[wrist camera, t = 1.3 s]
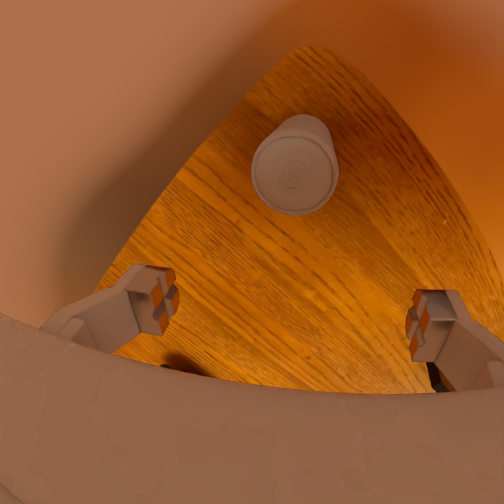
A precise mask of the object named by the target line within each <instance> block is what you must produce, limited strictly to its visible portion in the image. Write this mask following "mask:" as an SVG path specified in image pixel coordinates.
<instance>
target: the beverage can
mask: <svg viewBox="0 0 504 504" xmlns="http://www.w3.org/2000/svg"><path fill="white" fill-rule="evenodd" d="M338 173H339V168H338V163H337V158H336V154H335V150H334V146H333V143H332V139H331V135H330V132H329V130H328V128H327V126H326V125H325V124H324V123H323V122H322V121H321V120H319V119H318V118H316V117H314V116H311V115H308V114H299V115H294V116H292V117H290V118H288V119H286V120H285V121H284V122H283V123H282V124H281V125H280V126H279V127H278V128H277V129H275V130H274V131H273V132H272V133H271V134H270V135H269V136H268V137H267V138H266V139H265V140H264V141H263V142H262V143H261V144H260V145H259V147H258V149H257V150H256V152H255V154H254V157H253V161H252V165H251V180H252V183H253V187H254V190H255V191H256V193H257V195H258V196H259V198H260V199H261V200H262V201H263V202H264V203H265V204H266V205H267V206H268V207H270V208H271V209H273V210H275V211H276V212H279V213H282V214H286V215H295V216H299V215H305V214H309V213H312V212H314V211H316V210H318V209H320V208H321V207H322V206H323V205H325V204H326V203H327V201H328V200H329V199H330V197H331V196H332V195H333V192H334V190H335V188H336V185H337V182H338Z"/></svg>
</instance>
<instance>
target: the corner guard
mask: <svg viewBox="0 0 504 504" xmlns="http://www.w3.org/2000/svg"><path fill="white" fill-rule="evenodd" d="M426 363H427V368H428V372H429V377H430V381H431V386H432V388H433V389H434V390H435V391H436V392H437V393H441V392H455V391H456V389H455V388H454V387H453V386H452V384H451V383H450V382H449V381H448V379H447V378H446V377H445V376H444V374H443V373H442V372H441V371H440V369H439V368H438V367H437V366H436V365H435V362H426Z"/></svg>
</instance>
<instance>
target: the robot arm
mask: <svg viewBox="0 0 504 504" xmlns="http://www.w3.org/2000/svg"><path fill="white" fill-rule="evenodd" d="M175 280H176V276H175V271H174V270H173V269H172V268H166V267H159V266H151V265H144V264H133V265H132V266H131V267H130V268H129V269H128V270H127V271H126V272H125V273H124V274H123V276H122V277H121V278H120V279H119V280H118V281H117V282H116V283H115V284H114V285H113V287H112V288H109V287H108V288H105V289H103V290H101V291H98V292H96V293H94V294H92V295H89V296H87V297H85V298H83V299H80V300H78V301H76V302H74V303H71V304H69V305H67V306H65V307H62V308H60V309H58V310H56V311H55V312H54V313H53V314H52V315H51V316H50V317H49V318H48V319H47V320H46V322H45V323H44V324H43V325H42V326H41V327H40V328H39V329H37V328H35V327H32V326H29V325H27V324H25V323H22V322H20V321H18V320H15V319H13V318H10V317H8V316H6V315H4V314H2V313H0V504H504V343H503V342H502V341H501V340H500V339H498V338H497V337H496V336H495V335H493V334H492V333H491V332H490V331H488V330H487V329H486V328H484V327H483V326H482V325H481V324H479V323H478V322H477V321H472V319H471V317H470V315H469V313H468V311H467V309H466V307H465V305H464V303H463V301H462V299H461V297H460V295H459V293H458V291H456V290H429V289H416V291H415V292H414V295H413V298H412V300H413V304H414V306H412V307H411V308H410V309H409V310H408V313H407V317H406V323H405V331H406V336H407V338H408V339H409V340H410V341H411V343H410V345H409V349H410V354H411V358H412V362H435V365H436V366H437V367H438V368H439V369H440V371H441V372H442V373H443V374H444V376H445V377H446V378H447V379H448V381H449V382H450V383H451V384H452V386H453V387H454V388H455V389H456V391H455V392H441V393H421V394H358V393H337V392H322V391H309V390H298V389H288V388H279V387H271V386H263V385H255V384H248V383H241V382H235V381H229V380H223V379H217V378H212V377H206V376H201V375H196V374H191V373H186V372H181V371H177V370H172V369H168V368H164V367H159V366H155V365H151V364H147V363H143V362H139V361H136V360H132V359H128V358H124V357H121V356H117V355H114V354H111V353H113V352H114V351H116V350H117V349H119V348H120V347H121V346H123V345H124V344H126V343H127V342H129V341H130V340H132V339H133V338H135V337H136V336H138V335H139V334H140V332H142V333H148V334H153V335H159V336H162V335H163V333H164V332H165V330H166V328H167V327H168V325H169V319H168V318H170V317H171V316H173V315H175V313H176V311H177V309H178V305H179V291H178V288H177V287H176V286H175V285H174V284H173V283H174V282H175Z"/></svg>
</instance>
